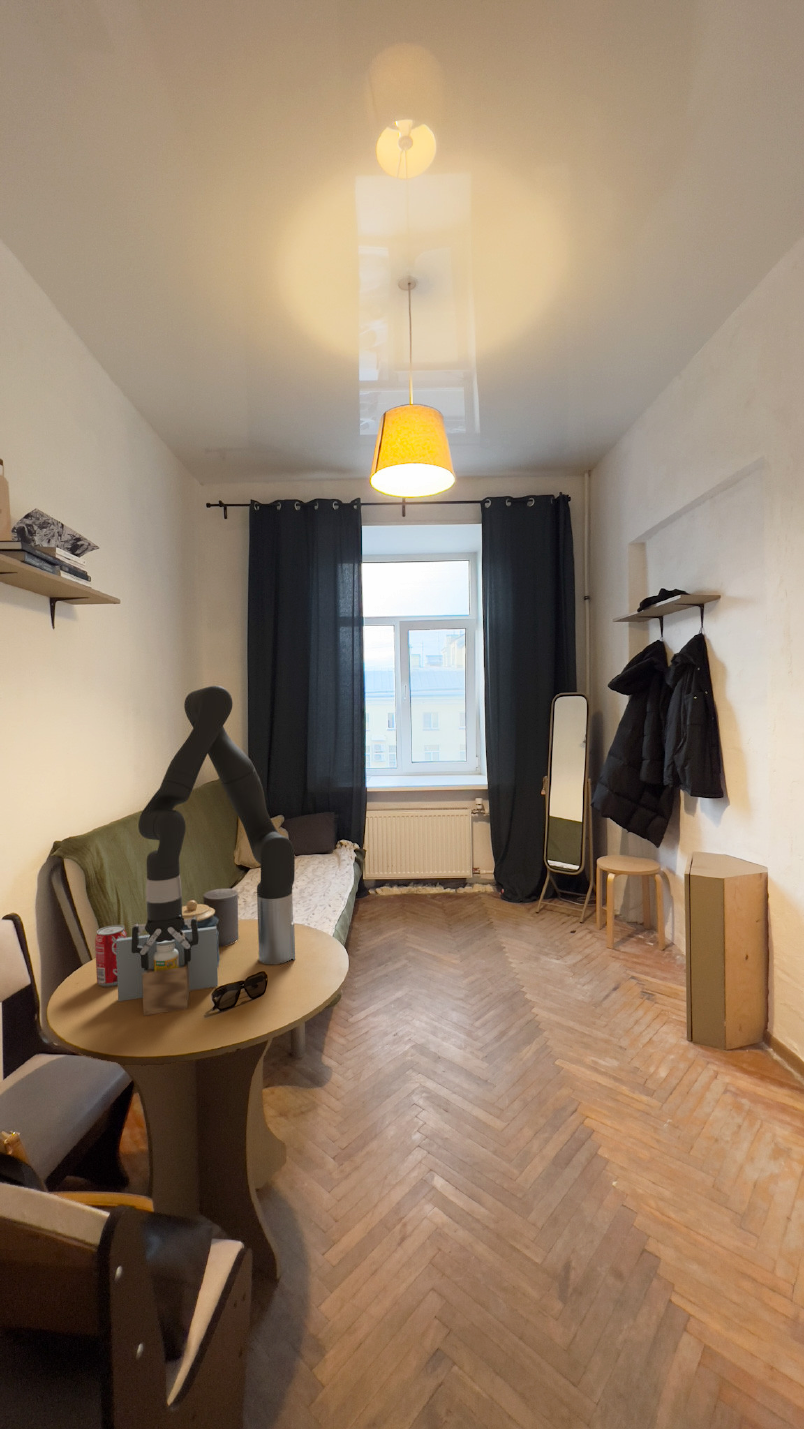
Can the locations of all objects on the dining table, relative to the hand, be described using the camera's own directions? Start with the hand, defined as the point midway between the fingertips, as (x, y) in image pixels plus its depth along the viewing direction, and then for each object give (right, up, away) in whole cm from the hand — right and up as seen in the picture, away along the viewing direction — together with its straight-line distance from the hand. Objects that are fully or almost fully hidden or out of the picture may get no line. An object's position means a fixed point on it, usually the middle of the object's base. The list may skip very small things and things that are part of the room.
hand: (166, 966), depth 138 cm
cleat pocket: (0, -8, 0) cm, 8 cm away
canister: (0, -8, +18) cm, 19 cm away
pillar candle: (+2, -8, +36) cm, 37 cm away
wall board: (-1, -8, +5) cm, 10 cm away
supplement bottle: (0, -4, 0) cm, 4 cm away
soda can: (-18, -9, +11) cm, 23 cm away
